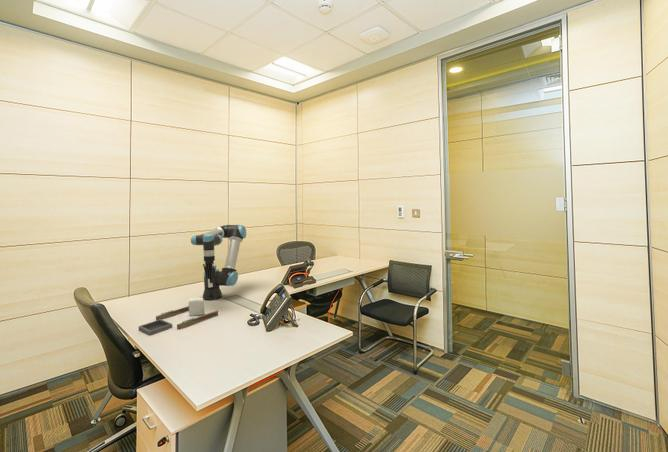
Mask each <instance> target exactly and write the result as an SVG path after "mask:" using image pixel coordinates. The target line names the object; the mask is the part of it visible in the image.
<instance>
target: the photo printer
mask: <svg viewBox="0 0 668 452" xmlns="http://www.w3.org/2000/svg"><path fill="white" fill-rule="evenodd" d="M188 306H189V311H188V315H189V316H190V317H193V316H203V315H206V314H205V300H204V299H203V297H191V298H189V299H188Z"/></svg>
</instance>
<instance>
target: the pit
mask: <svg viewBox="0 0 668 452" xmlns="http://www.w3.org/2000/svg"><path fill="white" fill-rule="evenodd" d="M137 328H138V331H140V332H142V333H144V334H147V335H148V336H153V335H155V334H159V333H161V332H164V331H166V330H170V329H172V328H173V323H171V322H169V321H167V320H166V321H165V320H164V319H162V320H161V319H160V320H157V321H156V320H154V321H151V322H148V323H144V324H142V325H138V327H137ZM169 328H170V329H169Z"/></svg>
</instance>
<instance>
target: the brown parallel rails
mask: <svg viewBox="0 0 668 452" xmlns="http://www.w3.org/2000/svg"><path fill="white" fill-rule="evenodd" d="M186 312H189V305H188V306H185V307H182V308H178V309H176V310H168V311H165V312H162V313H160V314H158V315H155V321H157V320H160V319H161V320H164V319H165V320H166V319H168V318H170V317H174V316H176V315H177V316H178V315H180V314H183V313H186ZM216 316H219V310H215V311H212V312H208V313H206V314H204V315H199V316H197V317H192V318H189V319H185V320H182V321H181V322H180V323H177V324H176V330H178V329H179V330H181V328H182V329H184V328H187V327H190V326H192V325H196V324H198V323H200V322H203V321H206V320H208V319H211V318H214V317H216Z"/></svg>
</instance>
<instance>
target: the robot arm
mask: <svg viewBox="0 0 668 452" xmlns="http://www.w3.org/2000/svg"><path fill="white" fill-rule="evenodd" d="M246 238H247V229H246V226H245V225H243V224H226V225H221V226H218V227H215V228H214V229H213V230H210V231H207V232H204V233H201V234H197V235H196V234H195V235H192V236H191V238H190V243H191V244H192V246H202V247H203V248H202V249H203V262H204V263H202V267H203V270H204V272H203V283H204V285H203V286H204V290H203V294H202V298H203V300H204V301H215V300H219V299H221V298H222V297H223V292H222V290H221V288H220V287H221V286H222V287H223V286H224V287H226V286H227V287H233V286H234V285H236V284H237V282H238V279H239V273H238V272H237V271H238V270H237V269H236V265H237V262H238V256H239V251H240V246H241V243H242V242H243V240H244V239H246ZM223 239H228V240H229V245H228V250H227V253H226V258H225V261H224V267H222V268H221V271H220V270H219V268H217V265H216V264H215V263H214V261H215V260H216V258H215V257H216V256H215V254H216V253H215V246H219V245H220V244H221V243H223ZM221 245H222V244H221Z"/></svg>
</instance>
